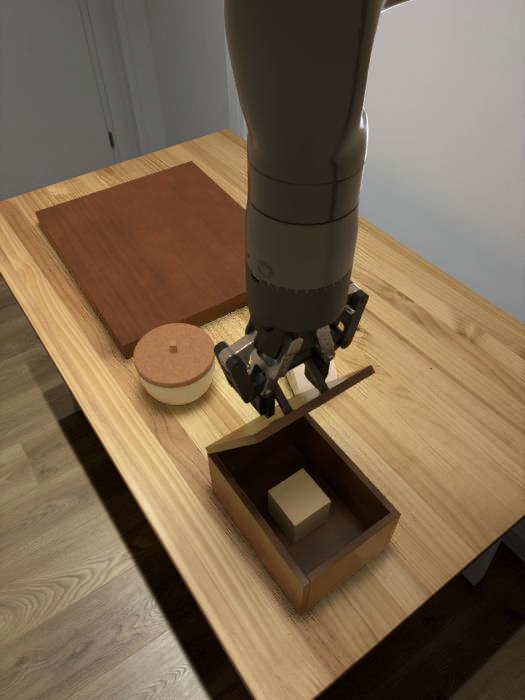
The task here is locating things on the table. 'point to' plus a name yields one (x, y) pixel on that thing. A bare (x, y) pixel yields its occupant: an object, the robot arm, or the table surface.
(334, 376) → the computer mouse
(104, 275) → the brown flat wooden slab
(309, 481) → the block
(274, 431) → the lid
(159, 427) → the table surface
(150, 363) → the trinket box
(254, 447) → the chest
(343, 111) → the robot arm
